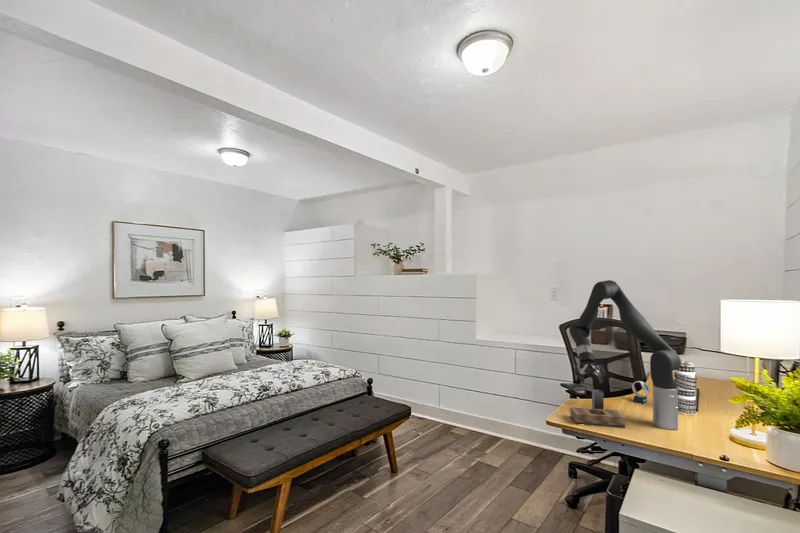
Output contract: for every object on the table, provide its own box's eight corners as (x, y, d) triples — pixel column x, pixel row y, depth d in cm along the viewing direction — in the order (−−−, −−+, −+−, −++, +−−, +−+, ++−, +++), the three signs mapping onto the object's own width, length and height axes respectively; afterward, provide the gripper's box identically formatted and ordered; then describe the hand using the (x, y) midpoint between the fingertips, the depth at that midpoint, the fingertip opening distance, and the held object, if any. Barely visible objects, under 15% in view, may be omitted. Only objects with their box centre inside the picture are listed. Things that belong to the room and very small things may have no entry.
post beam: (616, 420, 184) (616, 410, 184) (625, 428, 174) (625, 417, 174) (570, 416, 187) (570, 407, 187) (576, 424, 177) (576, 414, 177)
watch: (647, 405, 207) (647, 383, 208) (630, 401, 214) (630, 380, 214) (651, 403, 211) (651, 382, 211) (634, 399, 217) (634, 379, 218)
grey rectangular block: (600, 413, 193) (600, 390, 194) (603, 415, 189) (603, 392, 190) (591, 412, 194) (591, 389, 194) (594, 415, 190) (594, 391, 191)
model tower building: (673, 408, 203) (673, 359, 203) (696, 412, 198) (695, 361, 199) (674, 413, 195) (674, 362, 196) (698, 417, 190) (698, 364, 191)
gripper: (572, 350, 211) (578, 377, 199) (601, 351, 209) (609, 379, 197) (570, 358, 216) (575, 385, 204) (598, 360, 214) (605, 387, 202)
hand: (592, 382), depth 201 cm, fingers open, 8 cm apart
